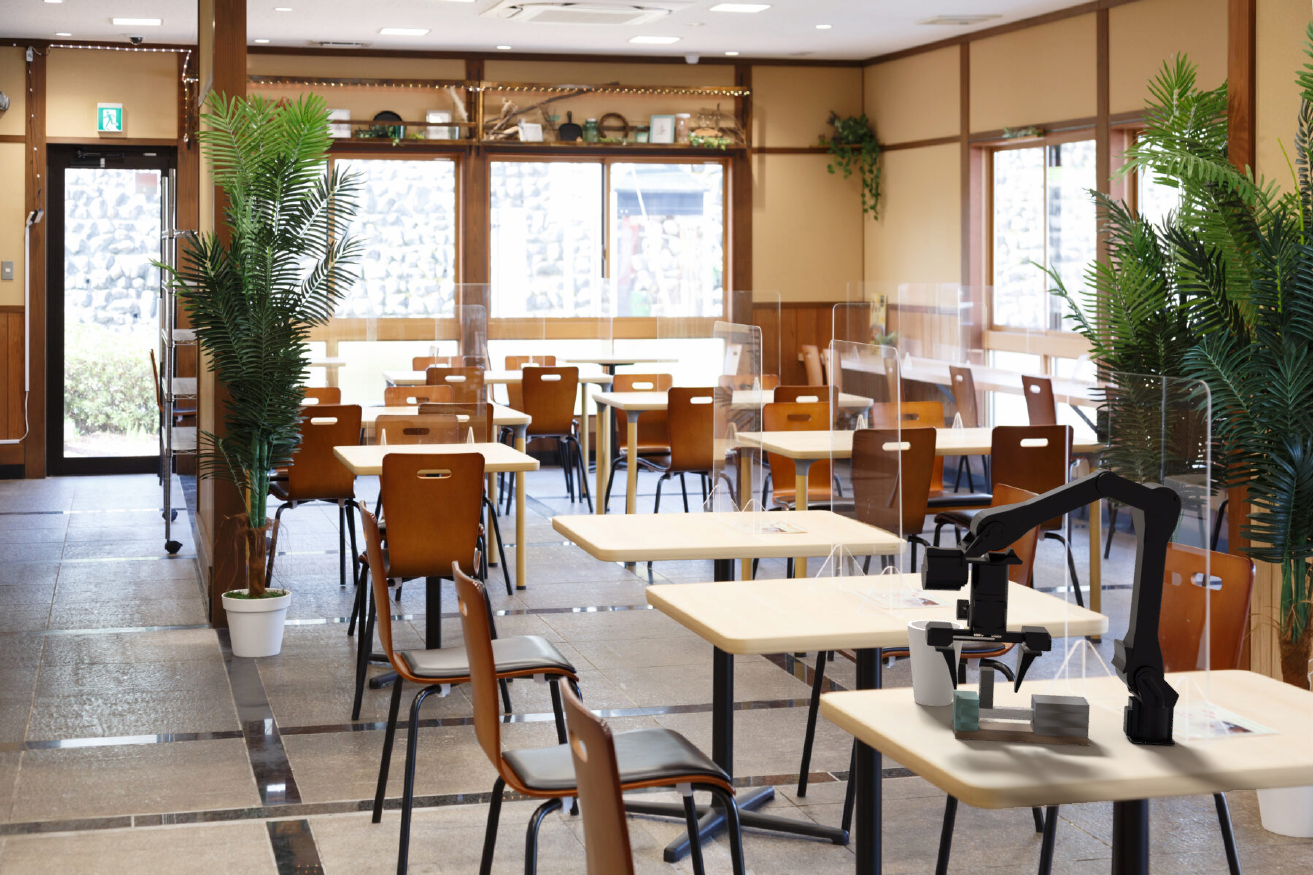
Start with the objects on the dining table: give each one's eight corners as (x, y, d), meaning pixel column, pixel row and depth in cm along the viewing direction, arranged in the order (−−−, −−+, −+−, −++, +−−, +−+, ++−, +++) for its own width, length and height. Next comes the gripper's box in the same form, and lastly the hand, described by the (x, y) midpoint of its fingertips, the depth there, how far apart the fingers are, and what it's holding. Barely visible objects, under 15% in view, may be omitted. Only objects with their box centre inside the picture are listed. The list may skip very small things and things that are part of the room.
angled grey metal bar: (1043, 717, 223) (1046, 669, 222) (1046, 721, 221) (1048, 673, 220) (960, 713, 225) (962, 665, 224) (961, 717, 222) (963, 669, 222)
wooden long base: (1081, 732, 225) (1082, 695, 224) (1088, 745, 218) (1090, 707, 217) (951, 725, 227) (953, 688, 227) (955, 738, 220) (956, 700, 220)
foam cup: (971, 706, 239) (974, 630, 237) (921, 710, 236) (923, 632, 235) (944, 692, 248) (947, 618, 247) (895, 695, 245) (898, 620, 244)
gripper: (1043, 584, 228) (1039, 680, 229) (924, 579, 230) (921, 675, 232) (1054, 598, 217) (1049, 699, 218) (929, 592, 219) (925, 692, 221)
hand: (985, 690), depth 223 cm, fingers open, 9 cm apart
